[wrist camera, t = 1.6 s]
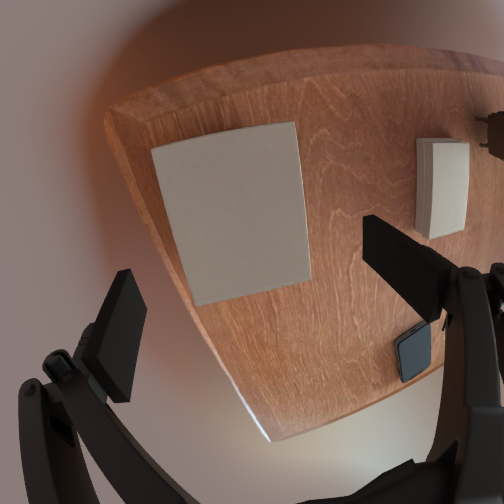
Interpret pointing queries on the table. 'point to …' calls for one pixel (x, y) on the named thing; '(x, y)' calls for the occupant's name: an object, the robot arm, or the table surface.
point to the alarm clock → (494, 134)
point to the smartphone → (414, 351)
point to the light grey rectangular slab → (236, 210)
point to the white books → (441, 186)
